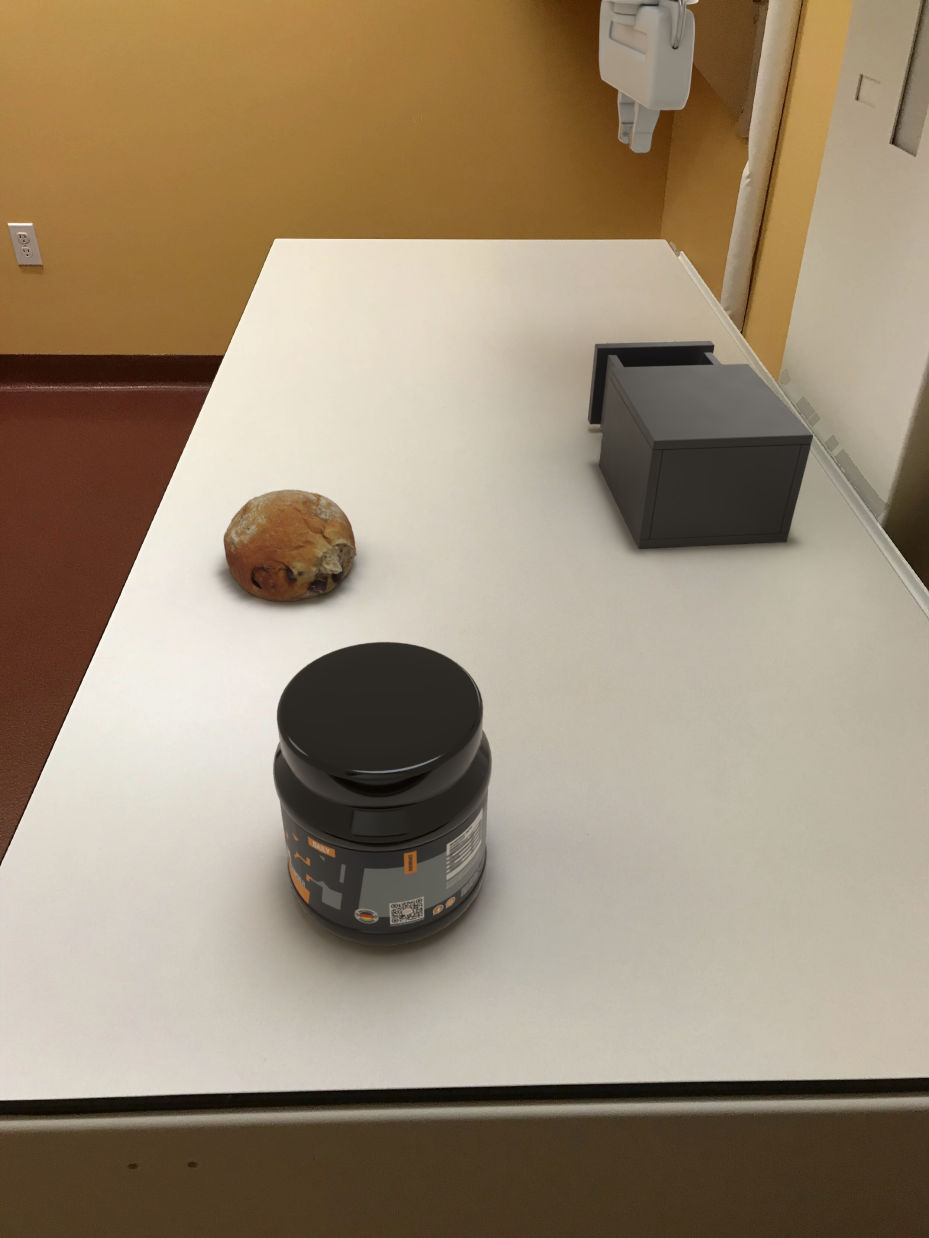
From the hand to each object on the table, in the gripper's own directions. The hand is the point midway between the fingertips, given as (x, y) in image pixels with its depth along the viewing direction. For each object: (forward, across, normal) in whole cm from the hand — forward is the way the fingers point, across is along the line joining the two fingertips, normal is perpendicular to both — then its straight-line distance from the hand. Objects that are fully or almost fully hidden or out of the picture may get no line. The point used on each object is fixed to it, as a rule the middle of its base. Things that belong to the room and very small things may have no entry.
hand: (633, 147), depth 95 cm
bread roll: (+23, -38, +34) cm, 56 cm away
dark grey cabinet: (+23, -30, 0) cm, 38 cm away
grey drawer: (+22, -19, 0) cm, 29 cm away
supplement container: (+23, -68, +28) cm, 77 cm away
